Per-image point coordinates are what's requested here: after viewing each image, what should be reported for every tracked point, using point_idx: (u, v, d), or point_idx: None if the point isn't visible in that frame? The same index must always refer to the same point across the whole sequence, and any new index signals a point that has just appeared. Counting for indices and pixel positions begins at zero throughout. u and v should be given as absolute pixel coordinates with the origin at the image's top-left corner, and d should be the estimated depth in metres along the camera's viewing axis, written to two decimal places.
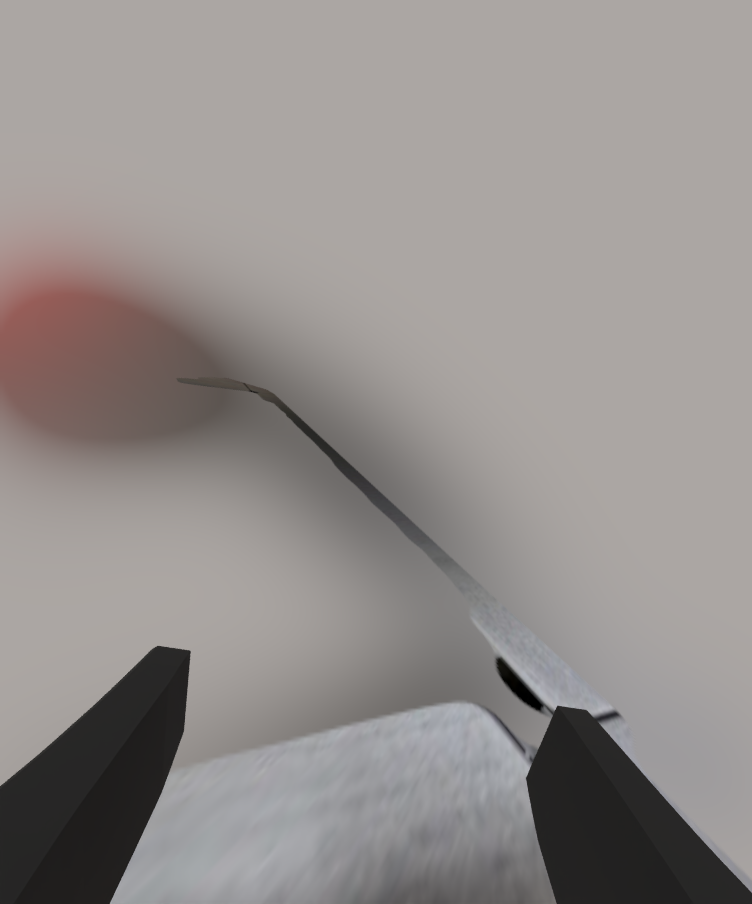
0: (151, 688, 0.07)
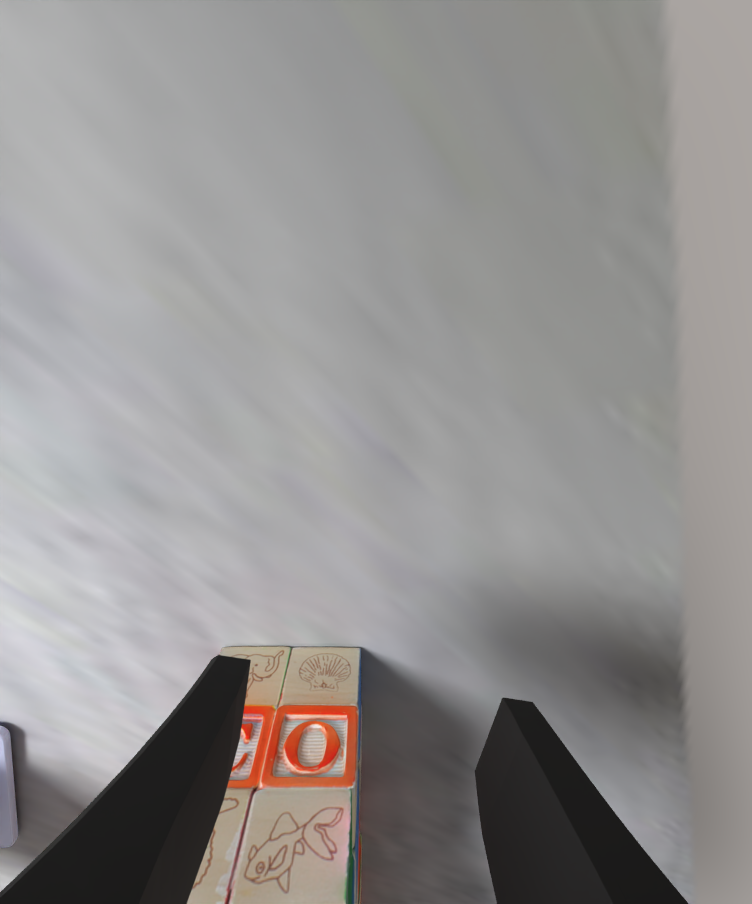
0: (221, 699, 0.07)
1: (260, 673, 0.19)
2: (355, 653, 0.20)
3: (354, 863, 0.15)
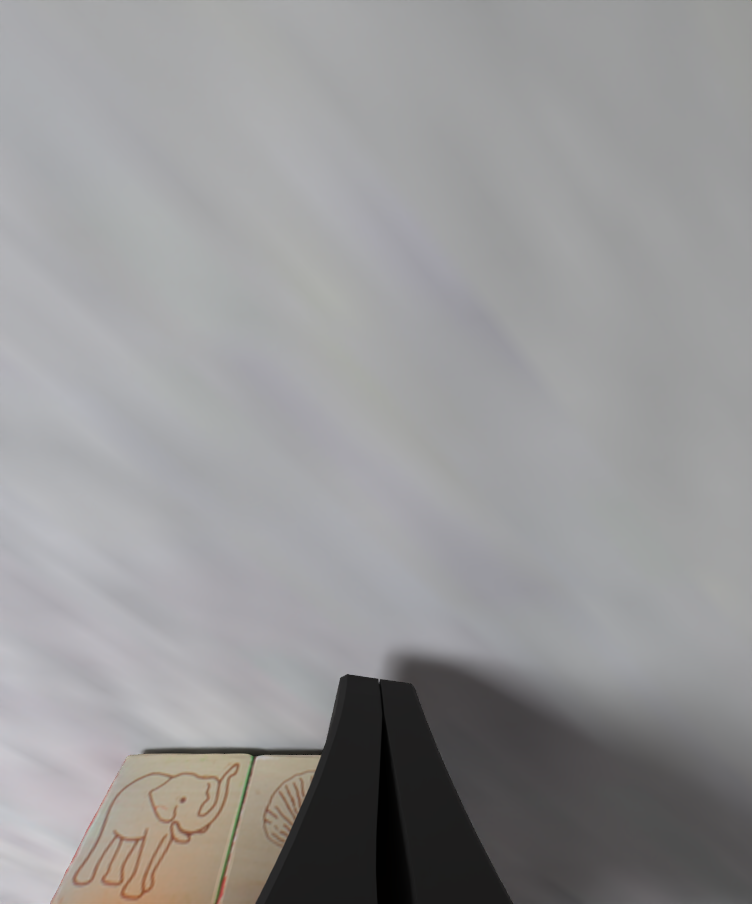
0: (369, 720, 0.08)
1: (187, 821, 0.10)
2: None
3: None
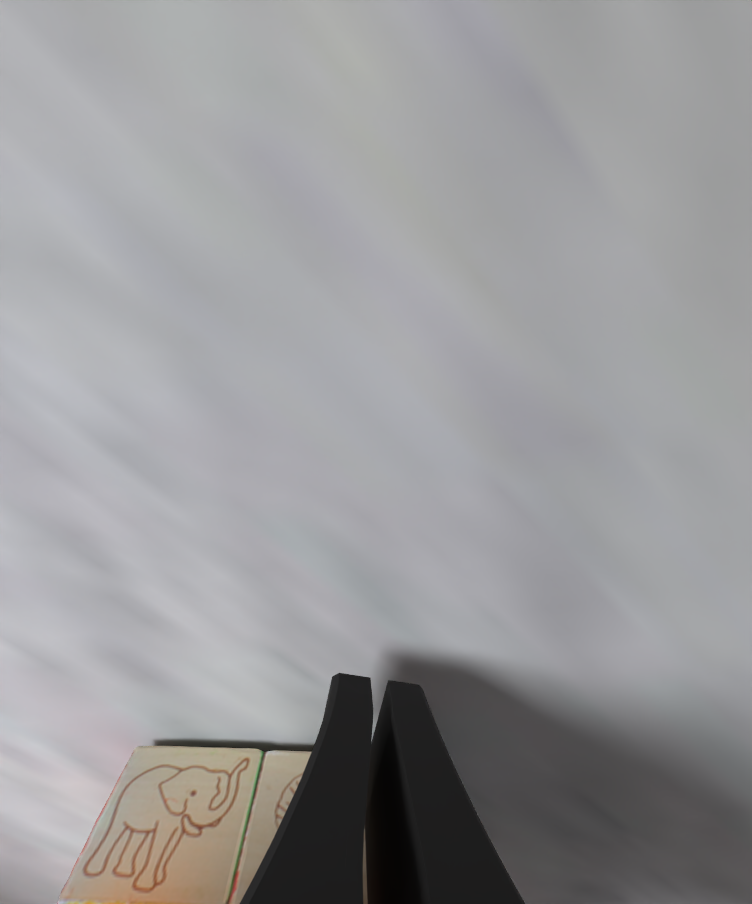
0: (359, 718, 0.08)
1: (199, 815, 0.10)
2: None
3: None
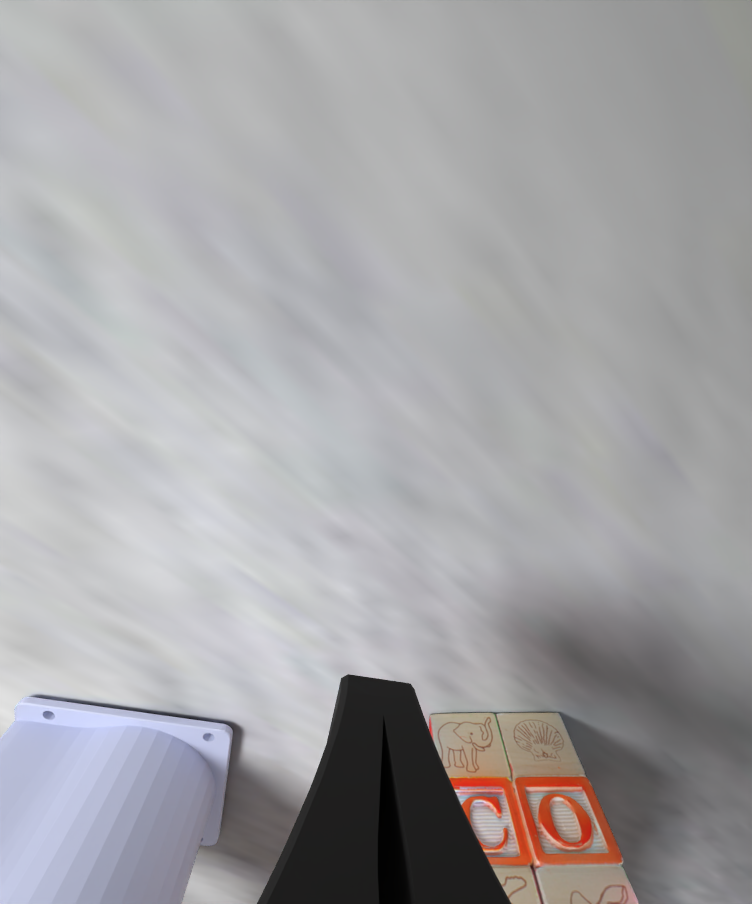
0: (370, 720, 0.08)
1: (479, 742, 0.20)
2: (557, 719, 0.21)
3: None
